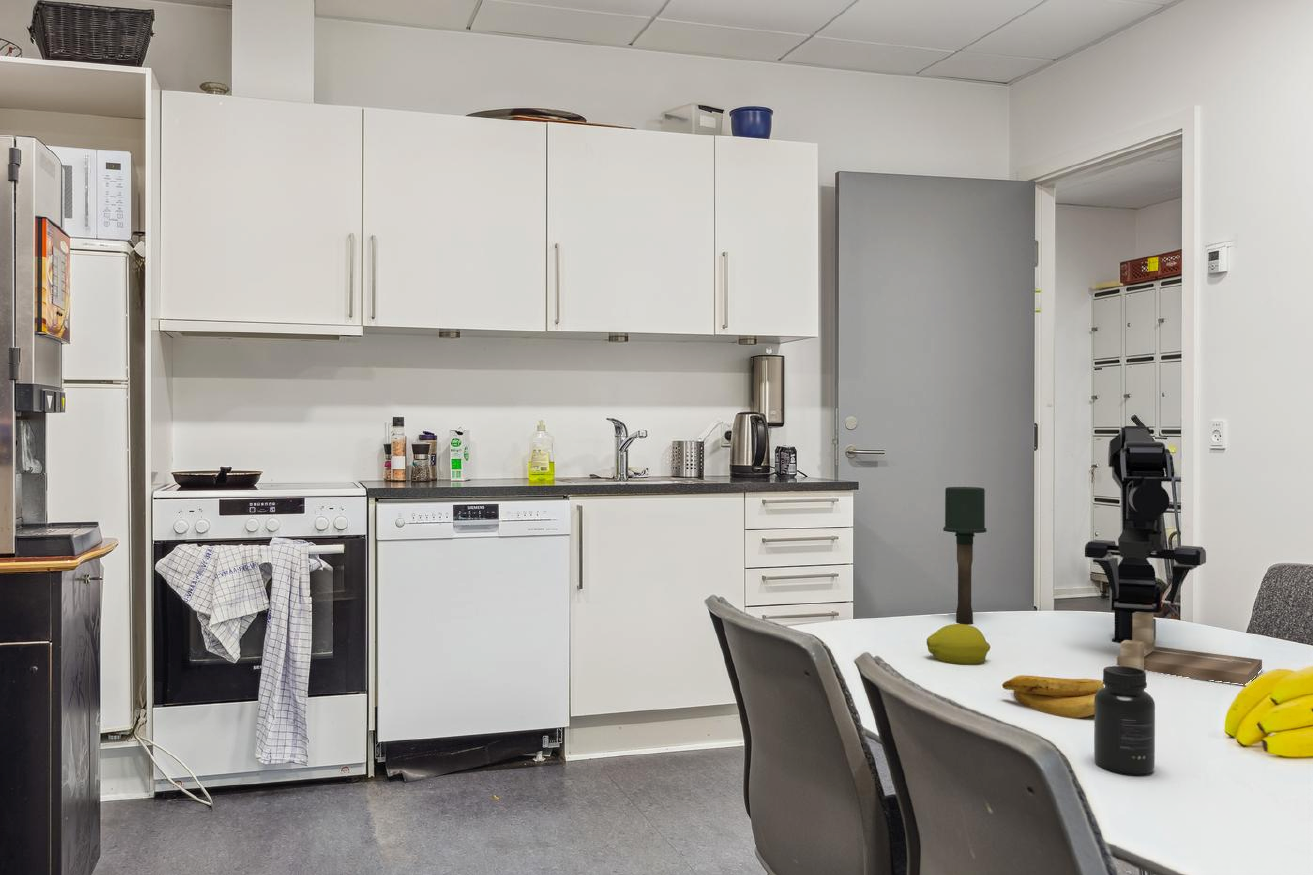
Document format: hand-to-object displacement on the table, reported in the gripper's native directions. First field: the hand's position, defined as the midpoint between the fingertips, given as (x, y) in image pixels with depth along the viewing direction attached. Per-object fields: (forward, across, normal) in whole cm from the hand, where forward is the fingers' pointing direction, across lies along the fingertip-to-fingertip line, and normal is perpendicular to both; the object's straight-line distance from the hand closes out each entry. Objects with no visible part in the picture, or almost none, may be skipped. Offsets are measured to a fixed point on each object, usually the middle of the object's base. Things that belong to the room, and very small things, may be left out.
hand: (1143, 601), depth 178 cm
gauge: (+9, 0, +4) cm, 10 cm away
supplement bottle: (+12, +12, -60) cm, 62 cm away
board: (+12, +7, +2) cm, 14 cm away
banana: (+12, -2, -37) cm, 39 cm away
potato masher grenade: (+12, -36, +8) cm, 39 cm away
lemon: (+12, -24, -24) cm, 36 cm away
